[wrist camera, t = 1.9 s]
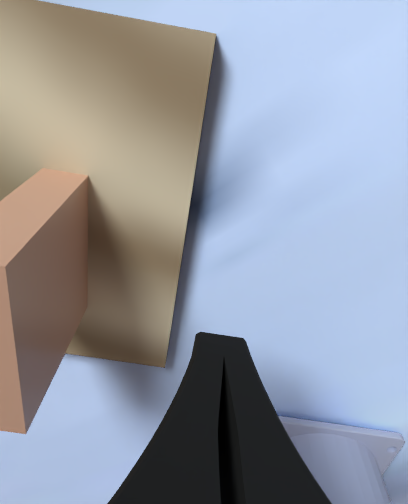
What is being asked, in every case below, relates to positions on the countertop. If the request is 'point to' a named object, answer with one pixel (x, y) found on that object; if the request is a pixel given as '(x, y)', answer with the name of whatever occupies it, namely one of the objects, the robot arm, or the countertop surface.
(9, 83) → the board
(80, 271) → the tile
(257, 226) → the countertop surface
